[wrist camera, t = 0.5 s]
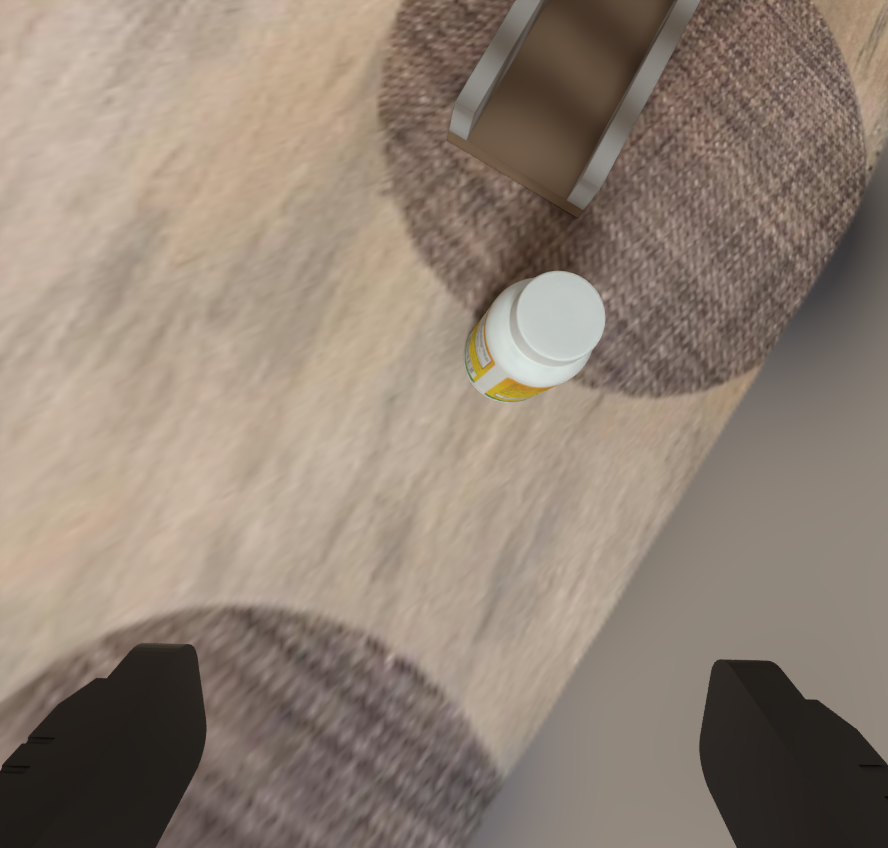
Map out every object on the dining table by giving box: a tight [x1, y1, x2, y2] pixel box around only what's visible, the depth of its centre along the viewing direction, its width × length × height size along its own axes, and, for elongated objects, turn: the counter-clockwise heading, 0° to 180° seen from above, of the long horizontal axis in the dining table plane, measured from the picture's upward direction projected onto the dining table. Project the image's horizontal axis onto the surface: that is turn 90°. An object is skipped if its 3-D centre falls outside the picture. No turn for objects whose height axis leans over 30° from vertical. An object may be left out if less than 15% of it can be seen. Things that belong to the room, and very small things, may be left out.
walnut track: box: [447, 0, 700, 218], centre depth 34 cm, size 22×9×4 cm, turn 152°
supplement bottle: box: [464, 271, 605, 403], centre depth 28 cm, size 5×5×10 cm
